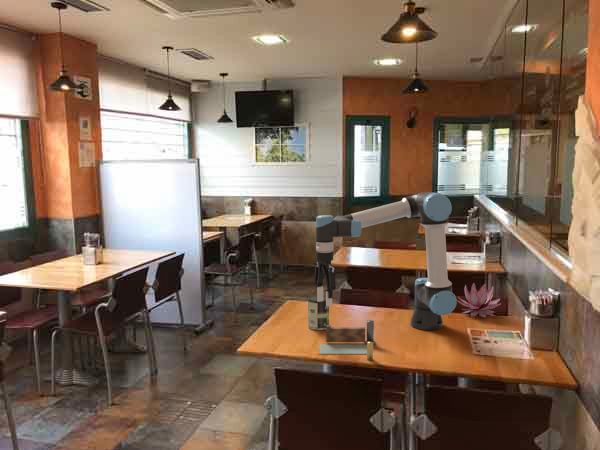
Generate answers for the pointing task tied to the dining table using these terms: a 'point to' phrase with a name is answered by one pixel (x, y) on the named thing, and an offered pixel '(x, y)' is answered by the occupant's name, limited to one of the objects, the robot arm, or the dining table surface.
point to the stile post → (369, 350)
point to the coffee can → (317, 313)
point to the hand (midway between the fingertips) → (324, 303)
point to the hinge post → (370, 332)
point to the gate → (345, 334)
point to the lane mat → (342, 349)
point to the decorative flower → (479, 301)
